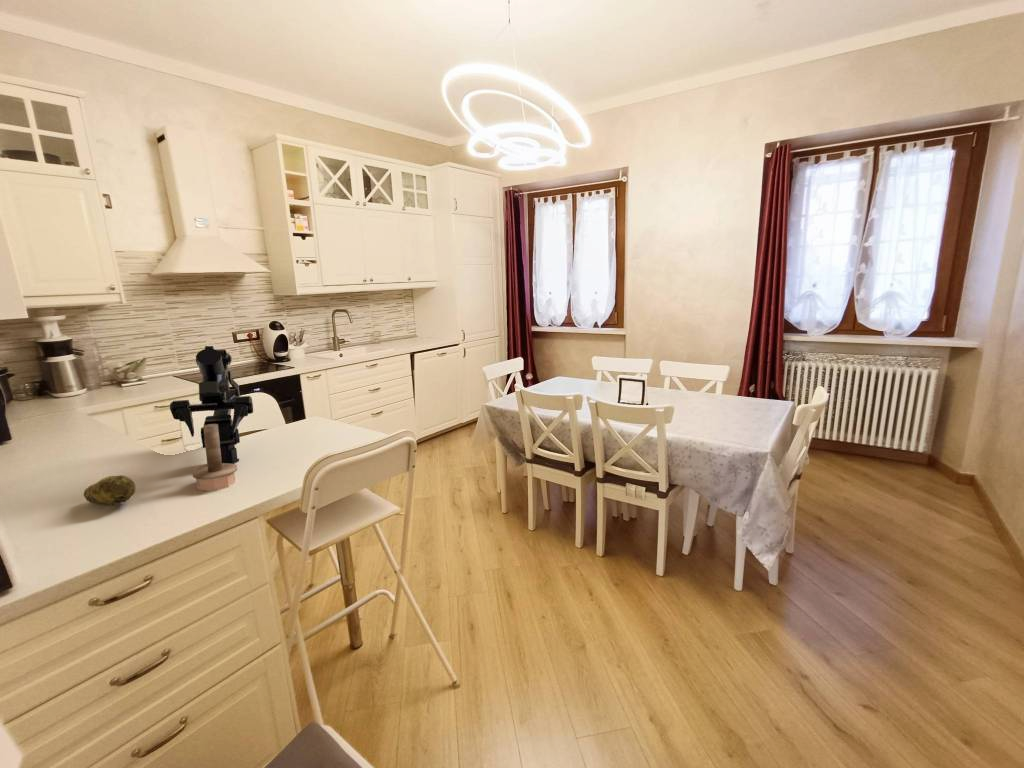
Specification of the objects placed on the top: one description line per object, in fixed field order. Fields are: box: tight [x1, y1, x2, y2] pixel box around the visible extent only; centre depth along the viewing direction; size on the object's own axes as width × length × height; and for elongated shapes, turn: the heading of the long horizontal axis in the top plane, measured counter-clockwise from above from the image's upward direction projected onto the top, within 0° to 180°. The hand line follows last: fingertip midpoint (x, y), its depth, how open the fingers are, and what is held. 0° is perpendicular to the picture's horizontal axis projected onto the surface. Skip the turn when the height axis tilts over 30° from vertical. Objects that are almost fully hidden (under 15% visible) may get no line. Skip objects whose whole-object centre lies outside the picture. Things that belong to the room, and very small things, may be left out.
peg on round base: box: [191, 424, 238, 480], centre depth 118 cm, size 10×10×13 cm
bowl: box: [195, 472, 236, 491], centre depth 119 cm, size 8×8×4 cm
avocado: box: [82, 474, 137, 506], centre depth 105 cm, size 8×13×8 cm, turn 51°
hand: (213, 433), depth 120 cm, fingers open, 9 cm apart
